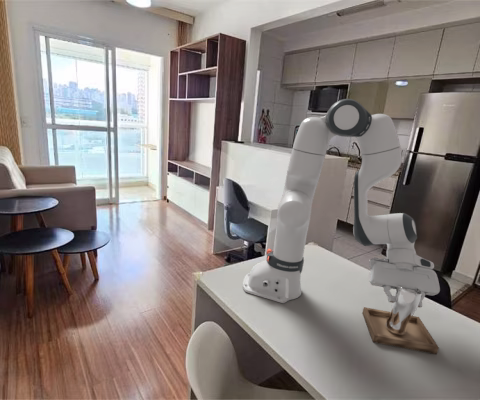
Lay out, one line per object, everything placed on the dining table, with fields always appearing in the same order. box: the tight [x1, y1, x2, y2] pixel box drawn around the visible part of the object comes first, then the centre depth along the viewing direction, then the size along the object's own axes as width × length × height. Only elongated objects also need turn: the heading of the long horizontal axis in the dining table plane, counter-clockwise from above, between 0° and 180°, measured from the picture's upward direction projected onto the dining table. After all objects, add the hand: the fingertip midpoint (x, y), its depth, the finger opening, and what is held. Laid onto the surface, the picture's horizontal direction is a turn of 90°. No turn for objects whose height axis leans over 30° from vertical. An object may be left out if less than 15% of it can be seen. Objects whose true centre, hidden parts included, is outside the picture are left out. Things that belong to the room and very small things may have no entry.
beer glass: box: [385, 283, 422, 335], centre depth 91 cm, size 7×7×15 cm
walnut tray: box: [361, 306, 440, 355], centre depth 94 cm, size 18×14×2 cm
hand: (405, 304), depth 90 cm, fingers closed on beer glass, 6 cm apart
